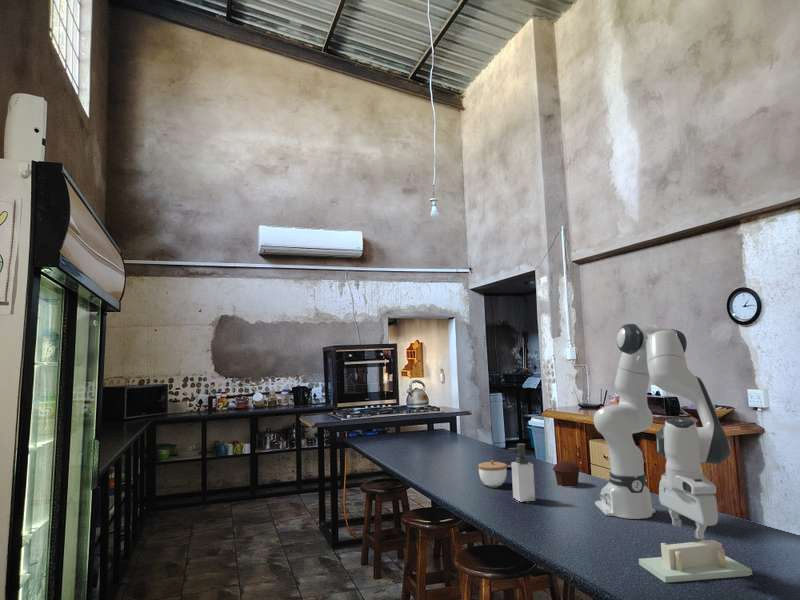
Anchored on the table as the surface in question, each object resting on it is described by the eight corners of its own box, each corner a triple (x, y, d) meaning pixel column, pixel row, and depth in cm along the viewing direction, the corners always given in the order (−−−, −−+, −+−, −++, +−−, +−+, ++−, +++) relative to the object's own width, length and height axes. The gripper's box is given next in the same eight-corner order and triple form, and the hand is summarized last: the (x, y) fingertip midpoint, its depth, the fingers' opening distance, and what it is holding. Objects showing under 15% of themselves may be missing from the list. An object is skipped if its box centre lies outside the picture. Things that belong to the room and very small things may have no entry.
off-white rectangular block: (670, 569, 139) (668, 549, 139) (662, 564, 142) (661, 545, 142) (723, 562, 142) (721, 543, 142) (714, 558, 145) (713, 539, 145)
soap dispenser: (507, 499, 214) (505, 443, 217) (528, 497, 216) (525, 442, 218) (514, 503, 208) (511, 446, 210) (535, 501, 210) (532, 444, 212)
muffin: (579, 481, 239) (577, 459, 241) (583, 487, 229) (581, 464, 230) (552, 481, 241) (550, 459, 242) (554, 487, 231) (553, 464, 232)
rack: (665, 582, 134) (663, 558, 135) (639, 564, 146) (637, 541, 147) (752, 575, 137) (750, 551, 137) (719, 558, 149) (717, 535, 149)
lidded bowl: (510, 488, 231) (508, 462, 232) (481, 489, 231) (479, 463, 232) (504, 481, 244) (503, 457, 245) (477, 482, 244) (476, 457, 245)
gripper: (651, 471, 154) (654, 520, 153) (697, 489, 134) (701, 546, 133) (672, 470, 155) (675, 519, 153) (720, 488, 134) (725, 545, 133)
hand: (687, 532), depth 143 cm, fingers open, 8 cm apart
